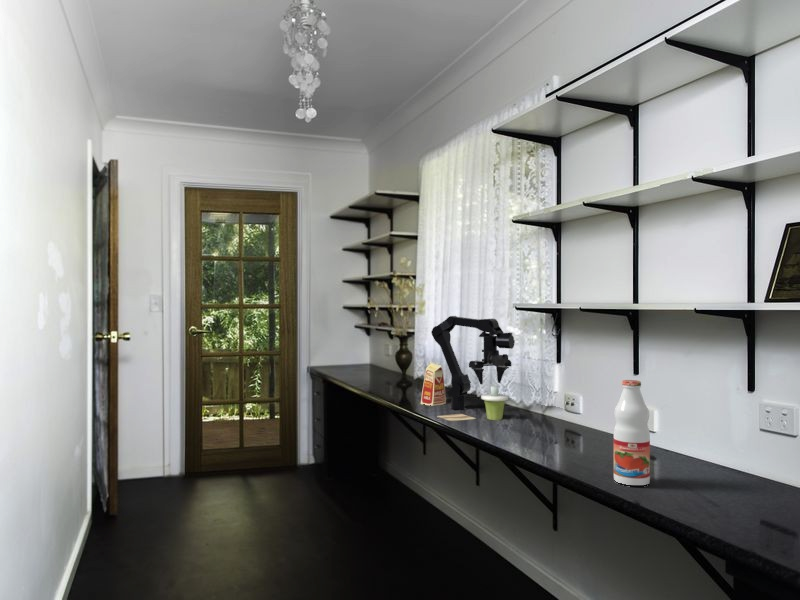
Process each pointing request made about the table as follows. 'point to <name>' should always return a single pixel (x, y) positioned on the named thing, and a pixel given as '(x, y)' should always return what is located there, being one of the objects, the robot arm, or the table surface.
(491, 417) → the plant pot
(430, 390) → the milk carton
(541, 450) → the table surface
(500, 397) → the lid
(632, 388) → the fruit juice
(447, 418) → the mat
